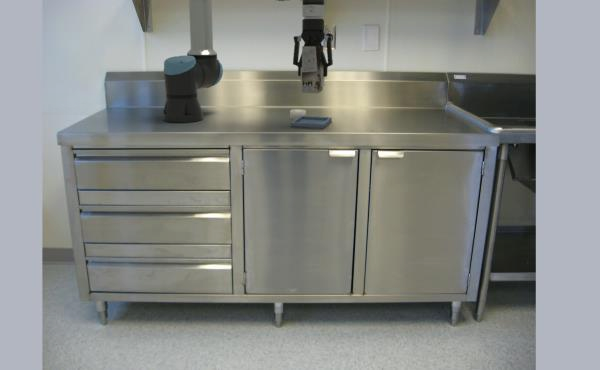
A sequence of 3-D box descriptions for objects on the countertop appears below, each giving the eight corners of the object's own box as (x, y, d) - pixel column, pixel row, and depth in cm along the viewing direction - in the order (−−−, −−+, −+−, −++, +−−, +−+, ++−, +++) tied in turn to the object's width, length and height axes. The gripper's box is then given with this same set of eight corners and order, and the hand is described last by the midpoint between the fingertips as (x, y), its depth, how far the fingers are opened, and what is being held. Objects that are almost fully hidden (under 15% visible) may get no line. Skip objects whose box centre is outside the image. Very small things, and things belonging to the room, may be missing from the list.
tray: (290, 127, 179) (290, 122, 178) (300, 120, 192) (300, 115, 191) (323, 129, 176) (323, 124, 175) (331, 122, 189) (331, 117, 188)
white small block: (288, 120, 193) (288, 111, 192) (292, 117, 198) (292, 108, 197) (303, 121, 192) (303, 111, 190) (307, 118, 197) (307, 109, 196)
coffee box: (319, 93, 175) (319, 46, 170) (301, 93, 176) (301, 45, 171) (323, 90, 184) (324, 45, 179) (306, 90, 185) (306, 44, 180)
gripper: (282, 18, 171) (283, 86, 178) (339, 18, 166) (337, 87, 174) (289, 18, 178) (289, 83, 185) (343, 18, 173) (341, 85, 180)
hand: (312, 85), depth 179 cm, fingers closed on coffee box, 7 cm apart
